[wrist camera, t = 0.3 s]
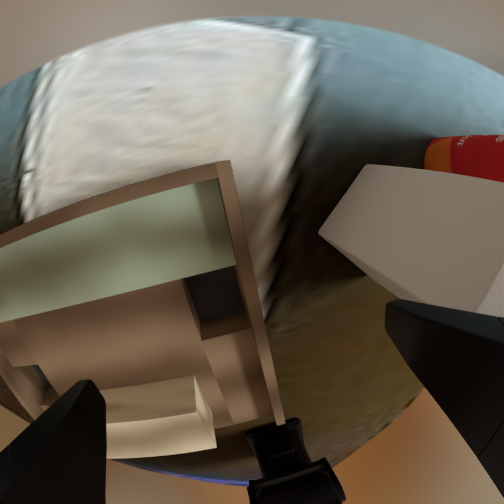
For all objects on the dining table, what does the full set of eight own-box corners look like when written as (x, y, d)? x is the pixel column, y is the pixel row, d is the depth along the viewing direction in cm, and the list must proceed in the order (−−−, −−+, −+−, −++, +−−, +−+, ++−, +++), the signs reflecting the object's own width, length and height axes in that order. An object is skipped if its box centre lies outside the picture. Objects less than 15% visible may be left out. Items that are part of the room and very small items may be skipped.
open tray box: (273, 391, 26) (285, 423, 22) (71, 423, 24) (63, 451, 19) (222, 160, 19) (230, 160, 15) (-26, 247, 16) (-54, 263, 12)
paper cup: (467, 151, 23) (573, 168, 10) (450, 213, 25) (558, 253, 12) (425, 112, 21) (552, 110, 8) (405, 182, 23) (541, 216, 9)
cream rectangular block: (211, 412, 22) (216, 447, 18) (96, 427, 21) (89, 458, 17) (193, 374, 20) (196, 412, 17) (69, 392, 19) (58, 424, 15)
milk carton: (315, 232, 22) (534, 385, 4) (364, 163, 21) (601, 209, 4) (368, 276, 25) (533, 406, 7) (410, 214, 24) (592, 292, 6)
